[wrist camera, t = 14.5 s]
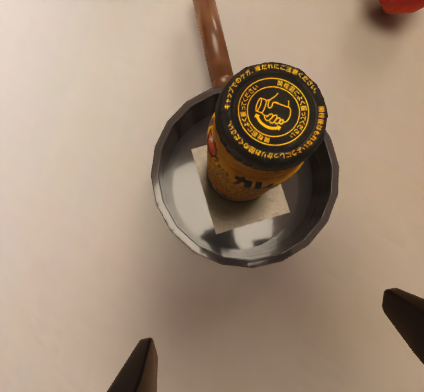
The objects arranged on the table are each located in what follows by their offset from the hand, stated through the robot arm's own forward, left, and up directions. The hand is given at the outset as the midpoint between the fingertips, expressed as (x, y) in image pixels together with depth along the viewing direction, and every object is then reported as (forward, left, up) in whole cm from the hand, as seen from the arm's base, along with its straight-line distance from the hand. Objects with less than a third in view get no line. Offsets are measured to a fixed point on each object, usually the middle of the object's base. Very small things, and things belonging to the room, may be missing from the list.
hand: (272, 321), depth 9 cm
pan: (+8, -2, -13) cm, 15 cm away
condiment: (+7, -2, -13) cm, 15 cm away
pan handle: (+21, -2, -11) cm, 24 cm away
